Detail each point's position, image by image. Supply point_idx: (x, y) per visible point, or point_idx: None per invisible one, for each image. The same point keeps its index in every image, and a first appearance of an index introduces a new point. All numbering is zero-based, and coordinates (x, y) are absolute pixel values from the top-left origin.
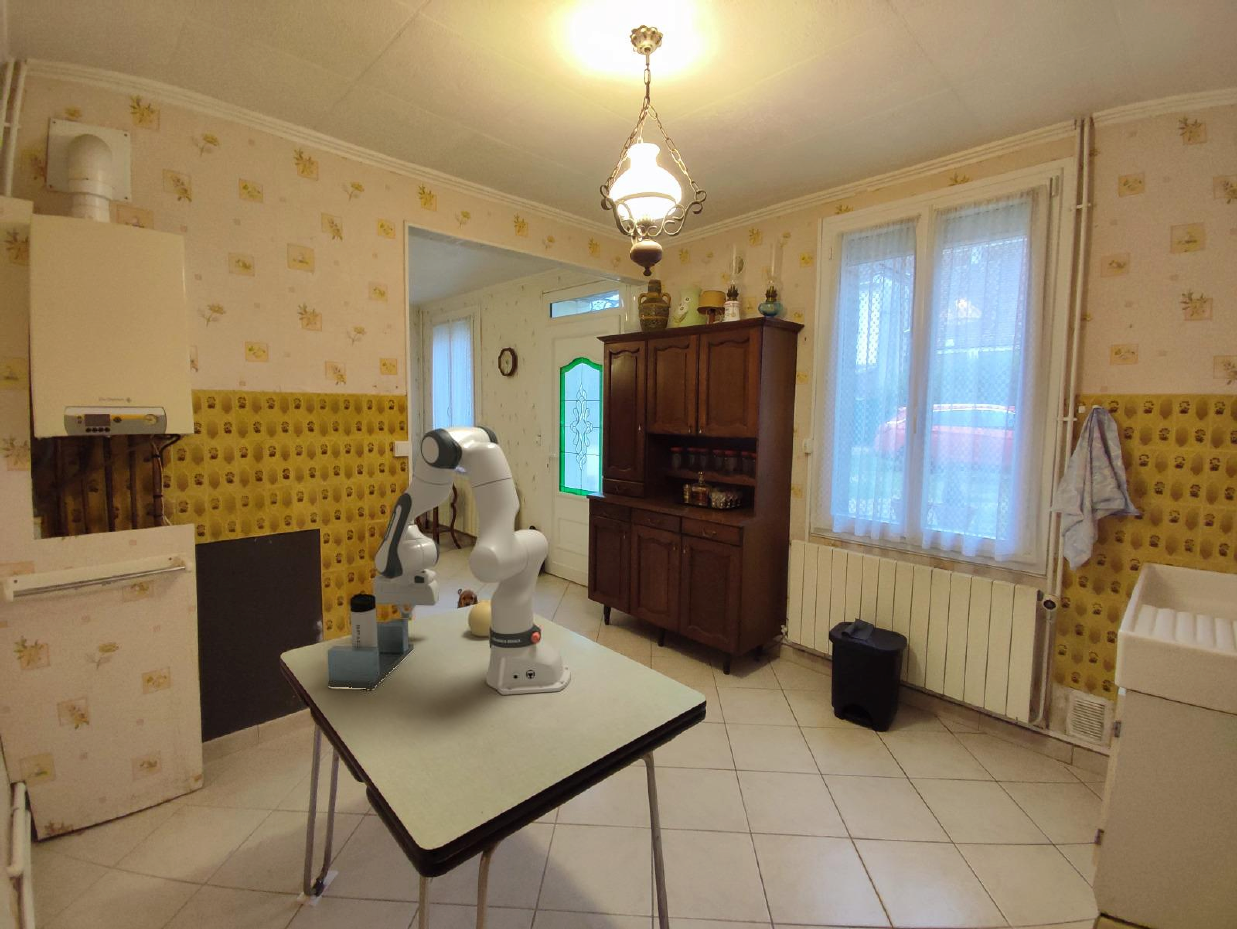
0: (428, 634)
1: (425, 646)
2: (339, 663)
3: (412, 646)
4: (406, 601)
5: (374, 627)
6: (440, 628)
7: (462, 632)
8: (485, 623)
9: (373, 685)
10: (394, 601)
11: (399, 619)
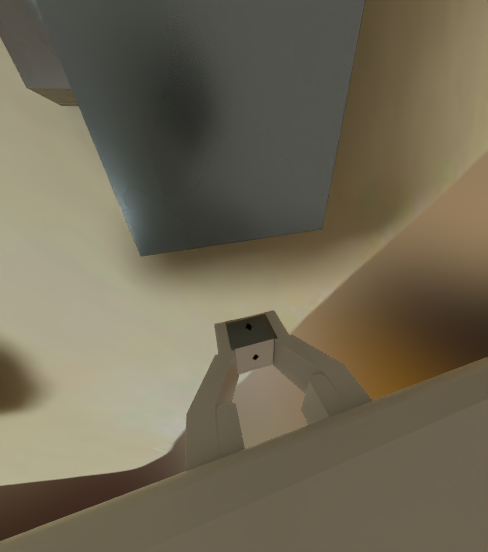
0: (162, 309)
1: (53, 193)
2: None
3: (21, 64)
4: (277, 549)
5: None
6: (157, 352)
7: (34, 358)
8: None
9: None
10: (458, 448)
11: (235, 221)
